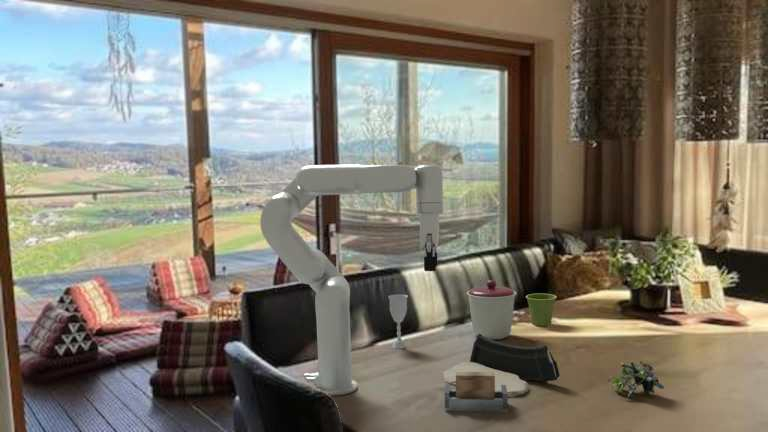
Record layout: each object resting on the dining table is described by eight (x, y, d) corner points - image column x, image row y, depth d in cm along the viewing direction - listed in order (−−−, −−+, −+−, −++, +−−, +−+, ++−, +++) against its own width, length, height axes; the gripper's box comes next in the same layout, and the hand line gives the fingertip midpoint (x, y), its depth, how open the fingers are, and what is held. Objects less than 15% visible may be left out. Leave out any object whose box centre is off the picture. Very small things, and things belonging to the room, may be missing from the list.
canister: (527, 337, 241) (526, 280, 239) (491, 345, 231) (490, 286, 229) (492, 328, 256) (492, 274, 254) (457, 335, 246) (456, 279, 244)
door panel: (456, 405, 172) (455, 375, 171) (456, 401, 175) (455, 371, 174) (495, 405, 171) (494, 375, 170) (494, 401, 174) (493, 372, 173)
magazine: (463, 337, 209) (540, 324, 187) (469, 335, 211) (546, 322, 190) (476, 391, 206) (556, 384, 185) (482, 388, 209) (562, 381, 187)
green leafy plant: (646, 412, 180) (673, 382, 175) (624, 415, 174) (652, 383, 169) (618, 380, 188) (644, 351, 183) (596, 382, 181) (622, 351, 176)
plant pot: (524, 320, 266) (524, 293, 265) (554, 321, 265) (554, 293, 264) (527, 328, 254) (526, 299, 254) (558, 328, 253) (558, 299, 252)
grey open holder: (445, 410, 170) (444, 392, 170) (445, 401, 177) (445, 383, 177) (507, 412, 168) (507, 393, 168) (506, 402, 175) (505, 384, 175)
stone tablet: (468, 366, 209) (468, 359, 209) (541, 391, 185) (540, 382, 184) (428, 377, 199) (428, 369, 199) (498, 404, 175) (498, 396, 175)
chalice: (398, 350, 228) (396, 299, 226) (385, 346, 233) (383, 296, 231) (413, 346, 232) (412, 296, 231) (400, 342, 237) (399, 293, 236)
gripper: (418, 206, 195) (419, 263, 197) (414, 210, 178) (415, 273, 180) (444, 206, 194) (445, 263, 196) (441, 210, 177) (443, 273, 179)
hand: (430, 268), depth 188 cm, fingers open, 9 cm apart
